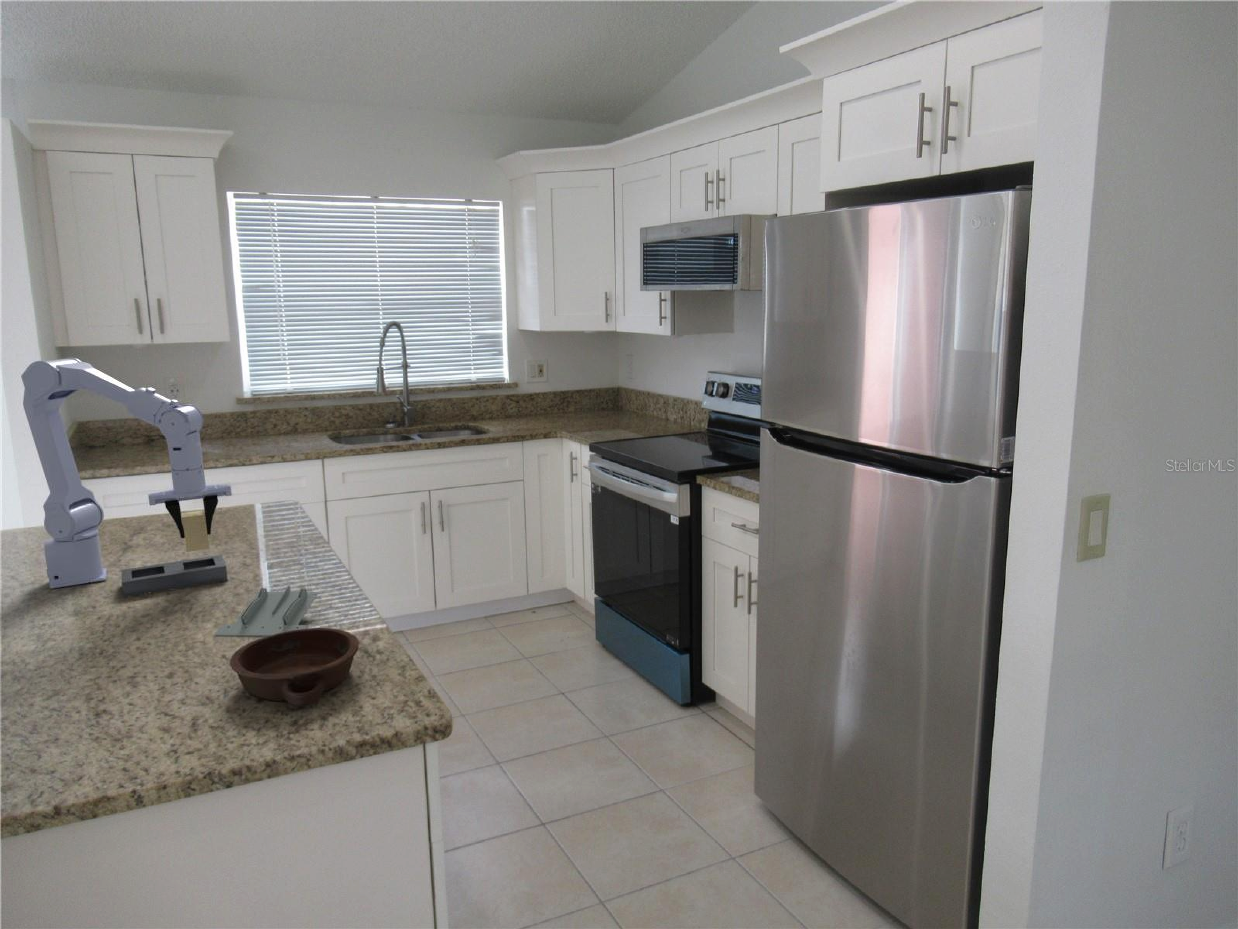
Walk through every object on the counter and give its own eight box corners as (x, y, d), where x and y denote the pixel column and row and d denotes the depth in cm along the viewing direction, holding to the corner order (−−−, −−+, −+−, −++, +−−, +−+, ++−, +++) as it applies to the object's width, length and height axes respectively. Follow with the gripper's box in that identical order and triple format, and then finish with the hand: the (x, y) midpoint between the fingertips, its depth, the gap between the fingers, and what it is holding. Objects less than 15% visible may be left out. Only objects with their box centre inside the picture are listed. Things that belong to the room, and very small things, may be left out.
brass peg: (186, 552, 169) (182, 517, 168) (185, 547, 173) (181, 513, 171) (209, 548, 171) (204, 514, 170) (207, 543, 175) (203, 510, 173)
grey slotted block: (123, 597, 163) (121, 582, 162) (123, 584, 170) (121, 569, 170) (227, 580, 171) (226, 566, 171) (223, 568, 179) (221, 554, 178)
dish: (343, 643, 139) (341, 614, 138) (378, 696, 121) (375, 663, 120) (226, 667, 131) (222, 636, 130) (243, 729, 112) (239, 693, 111)
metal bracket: (247, 580, 154) (328, 581, 152) (255, 607, 156) (335, 607, 155) (207, 632, 141) (295, 632, 140) (217, 659, 144) (303, 661, 142)
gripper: (145, 476, 162) (155, 546, 164) (229, 466, 169) (237, 534, 171) (144, 469, 168) (153, 537, 170) (226, 461, 175) (233, 526, 177)
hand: (195, 535), depth 171 cm, fingers closed on brass peg, 4 cm apart
